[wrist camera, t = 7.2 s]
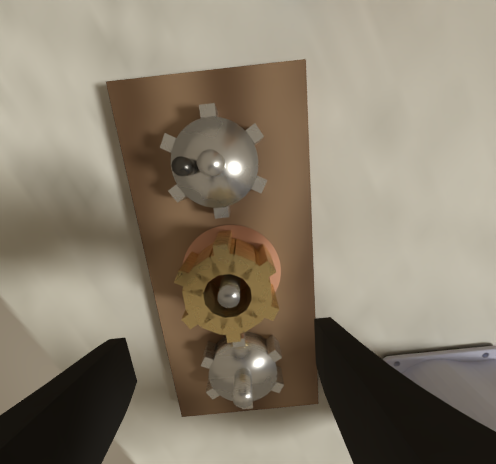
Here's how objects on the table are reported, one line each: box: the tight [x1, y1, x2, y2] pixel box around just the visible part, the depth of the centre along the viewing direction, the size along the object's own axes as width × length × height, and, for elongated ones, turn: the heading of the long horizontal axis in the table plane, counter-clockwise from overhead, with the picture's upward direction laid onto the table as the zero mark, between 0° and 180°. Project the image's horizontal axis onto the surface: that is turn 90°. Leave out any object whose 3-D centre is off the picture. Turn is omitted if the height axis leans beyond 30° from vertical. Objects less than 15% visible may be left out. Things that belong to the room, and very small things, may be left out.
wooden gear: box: [174, 230, 279, 343], centre depth 14 cm, size 6×6×3 cm
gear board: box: [106, 59, 318, 417], centre depth 16 cm, size 11×24×1 cm, turn 6°
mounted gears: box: [160, 103, 284, 409], centre depth 14 cm, size 6×20×3 cm, turn 6°
